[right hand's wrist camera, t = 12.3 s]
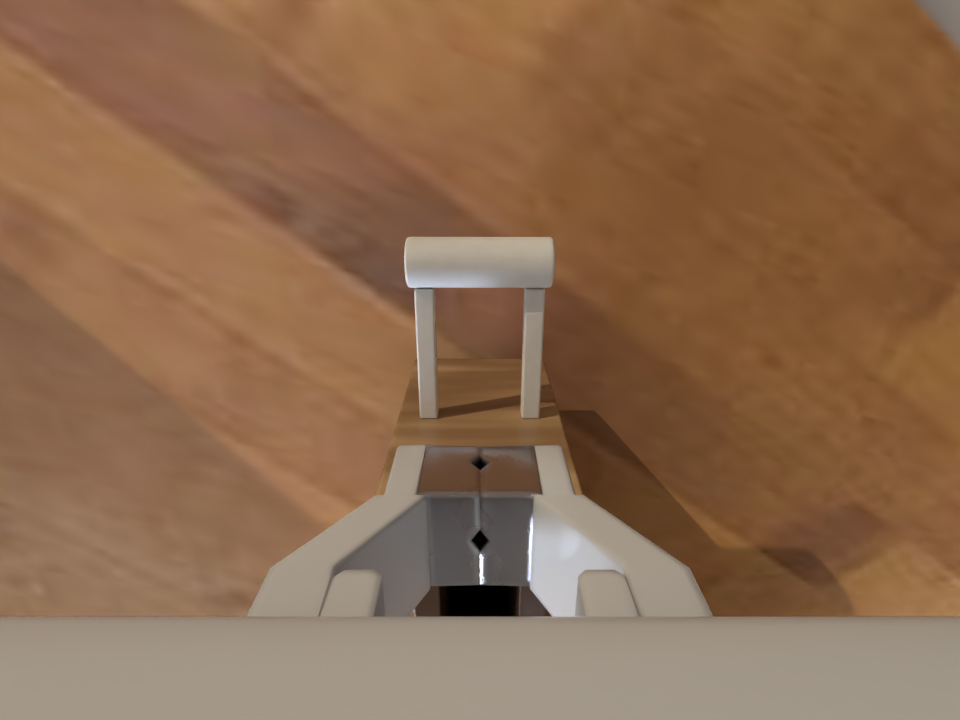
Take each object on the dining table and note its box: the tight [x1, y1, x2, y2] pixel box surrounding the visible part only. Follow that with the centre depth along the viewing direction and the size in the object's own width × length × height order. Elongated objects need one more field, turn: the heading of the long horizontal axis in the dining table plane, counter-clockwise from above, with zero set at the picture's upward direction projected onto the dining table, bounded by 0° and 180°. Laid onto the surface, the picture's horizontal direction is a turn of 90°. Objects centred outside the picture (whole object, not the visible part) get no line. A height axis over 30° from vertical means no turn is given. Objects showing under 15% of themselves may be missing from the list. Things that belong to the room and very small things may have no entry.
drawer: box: [376, 237, 583, 616], centre depth 21 cm, size 24×6×10 cm, turn 0°
